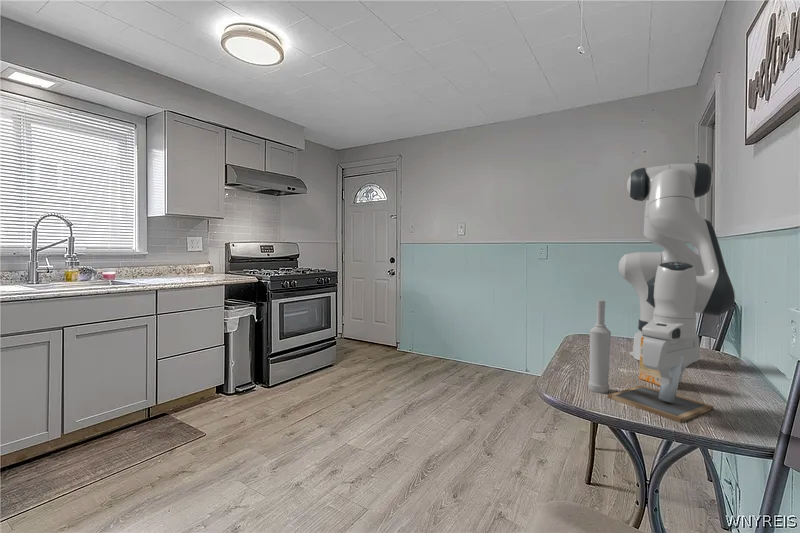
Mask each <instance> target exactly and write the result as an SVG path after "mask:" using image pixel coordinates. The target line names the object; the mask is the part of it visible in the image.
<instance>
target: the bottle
mask: <svg viewBox="0 0 800 533" xmlns="http://www.w3.org/2000/svg"><path fill="white" fill-rule="evenodd" d="M605 311H606V301H605V299H602V300H601V299H597V300H596V322H595V324H594V327H592V328H590V330H589V377H588V378H589V381H588V382H587V383H588V384H587V386H588V389H589V390H590V391H591V392H593V393H598V394H601V393H602V394H605V393H608V392H609V390H610V384H609V373H610V372H609V371H610V354H611V353H610V352H611V351H610V350H611V338H612V337H611V335H612V332H611V330H609V329H608V328H607V327H606V326H607V325H606V324H605V318H606V316H605V315H606V314H605V313H606V312H605Z"/></svg>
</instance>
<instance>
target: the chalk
mask: <svg viewBox="0 0 800 533" xmlns="http://www.w3.org/2000/svg"><path fill="white" fill-rule="evenodd" d="M683 359H684V355H681V356H680V365H679V366H676V367H672V368H671V372H670V377H671V378H672V384H670V385H664V384H662V383H661V386H660V385H659V390H660V391H659V396H658V398H659V399H661V400H663V401H666V402H670V403H674V402H675V397H676V395H677V391H678V386H679V378H680V373H681V368H682V363H683Z"/></svg>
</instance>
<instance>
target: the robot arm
mask: <svg viewBox="0 0 800 533" xmlns="http://www.w3.org/2000/svg"><path fill="white" fill-rule="evenodd" d="M713 183H714V173H713V170H712V168H711V166H710V165H709V164H708V163H705V162H694V163H669V164H664V165H657V166H651V167H646V168H645V167H640V168H637V169H634V170H633V171H632V172H631V173H630V176H629V177H628V179H627V182H626V189H627V193H628V194H629V197H630V198H631V199H632V200H634V201H639V202H640V201H641V202H643V201H645V205H644V206H645V208H644V218H643V236H644V238H645V239H646V240H647V241H648V242H649V243H652V244H655V245H657V246H659V247H661V248H662V249H663V251H636V252H629V253H624V255H622V257H621V258H620V260H619V262H618V266H617V268H618V272H619V274H620V275H621V277H622V278H623V280H625V281H626V282H628V283H629V284H630V285H631V286H632V287H633V288H634V290H635V292H636V294H637V296H638V300H639V319H638V322H637V326H638V327H637V328H638V332H636V333H634V339H633V347H632V351H629V355H630V356H632V357H633V358H634V359H635V360H637V361H639V362H640V345H641V337H643V336H646V337H645V338H644V340H643V363H644V365H645V367H646V368H649V369H653V370H658V371H659V372H660V375H661V383H662V384H664V385H670V384H672V378H671V377H670V372H671V368H672V367H676V366H679V365H680V356H681V355H684V359H683V363H682V368H681V373H680V378H679V382H680V383H681V382H682V381H683V375H684V373H685V370H686V368H687V367H689V366H691V365H692V364H693V363H695V362H696V363H697V362H698V361H699V360H700V355H701V354H700V353H701V351H700V337H699V334H698V333H697V314H702V315H709V316H714V317H715V316H716V317H719V316H721V315H723V314H725V313H727V312H729V311H730V310H731V309H733V307H735V302H736V293H735V289H734V286H733V285H732V282H731V278H730V276H729V274H728V271H727V268H726V264H725V261H724V258H723V257H724V256H723V254H722V250H721V247H720V243H719V240H718V237H717V234H716V231H715V228H714V226H713V225H712V223H711V221H710V220H708V219H706V218H703V217H702V216H701V214H700V213H699V212H698V210H697V208H696V199H697V198H701V197H704V196H705V195H706V194H707V193H709V192H710V189H711V188H712V186H713ZM688 244H690V245H692V246H693V247H694V248H696V249H697V251H698V252H699V254H698V253H697V252H694V250H692V249H691V247H689V246H688Z"/></svg>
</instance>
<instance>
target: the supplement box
mask: <svg viewBox="0 0 800 533" xmlns="http://www.w3.org/2000/svg"><path fill="white" fill-rule="evenodd" d="M645 337H646V336H643V337H641V345H640V361H639V369H638V370H639V371H638V373H639V374H638V378H639V379H640V380H642V381H645V382H648V383H652V384H654V385H657V386H659V387H660V386H661V375H660V372H659V371H658V370H653V369H649V368H646V367H645V365H644V363H643V340H644V338H645Z"/></svg>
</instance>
